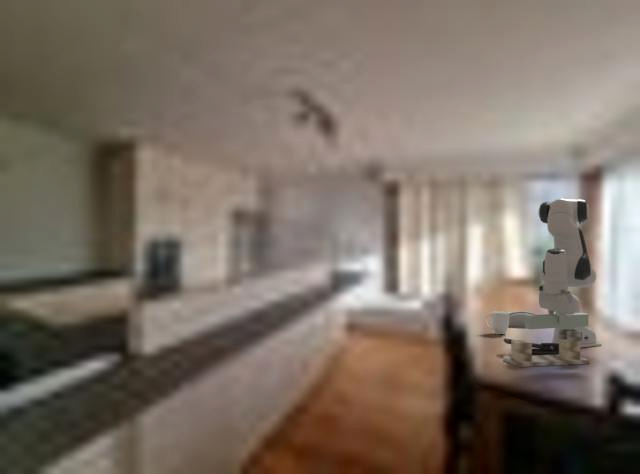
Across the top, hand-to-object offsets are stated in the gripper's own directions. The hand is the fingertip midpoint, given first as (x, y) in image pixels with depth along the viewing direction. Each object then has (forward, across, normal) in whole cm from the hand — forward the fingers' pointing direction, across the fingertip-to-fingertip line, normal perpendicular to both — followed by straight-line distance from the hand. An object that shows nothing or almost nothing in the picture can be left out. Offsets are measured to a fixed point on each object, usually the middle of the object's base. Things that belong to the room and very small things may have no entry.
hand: (556, 322), depth 234 cm
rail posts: (+18, +7, +1) cm, 19 cm away
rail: (+2, 0, 0) cm, 2 cm away
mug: (+20, +71, -10) cm, 74 cm away
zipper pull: (+19, +21, -1) cm, 28 cm away
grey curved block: (+20, +91, -36) cm, 99 cm away
